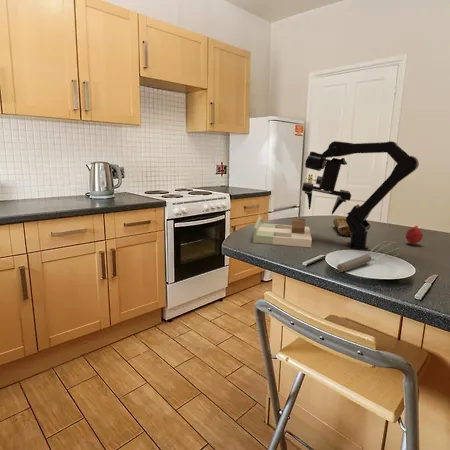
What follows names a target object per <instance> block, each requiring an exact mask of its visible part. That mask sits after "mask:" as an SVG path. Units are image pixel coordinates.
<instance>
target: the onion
mask: <svg viewBox="0 0 450 450" xmlns="http://www.w3.org/2000/svg"><path fill="white" fill-rule="evenodd" d="M418 227H419V225H414V226H413V227H411V228H409V229H408V230H407V231H406V233H405V239H406V240H407V242H408V243H409V244H410V245H412V246H414V245H416V244H418V243H419V242H421V241H422V239H423V236H424V235H423V232H422V230H421V229H419V228H418Z"/></svg>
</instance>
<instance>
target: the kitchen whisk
mask: <svg viewBox="0 0 450 450" xmlns="http://www.w3.org/2000/svg"><path fill="white" fill-rule="evenodd" d="M385 242H386V240H385V241H382V242H380V243H378V244H377V245H376V246H374V247H373V248H372V251H373V250H375V249H376V248H377V247H378V246H381V245H382V244H384V243H385ZM389 242H391V243H387V244H385V245H384V246H382V247H381V248H379V249H378V250H376V251H375V252H373V253H372V251H369V252H368V253H365V254H362V255H360V256H357V257H354V258H352V259H349V260H347V261H344V262H342V263H338V264H337V265H336V266H335V272H336V273H337V274H339V273H344V272H343V271H345V272H347V270H348V271H349V270H353V269H355V268H357V267H359V266H362V265H364V264H365V265H366V264H367V263H371V262H373V261H374V262H376V259H375V258H374V257H377V256H380V255H385V254H386V253H388V255H389V254H392V252H393V251H396V250H398V251H399V249H400V246H398V247H397V242H396V241H390V240H389ZM394 244H395V245H394ZM388 245H389V246H391V245H392V246H391V250H390V251H386V252H383V253H380V254H376V253H378V252H381V251H384V250H389V249H390V247H388V248H385V247H387V246H388ZM382 248H384V249H382ZM392 248H393V249H392ZM370 253H371V254H370ZM374 254H376V255H374ZM395 254H396V253H393V256H389V257H388V259H392V257H393V258H394V257H397V256H398V255H399V254H400V252H398V253H397V254H396V255H395ZM372 255H373V256H372ZM381 259H382V260H384V259H385V257H383V258H379V260H381Z"/></svg>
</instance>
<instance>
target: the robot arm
mask: <svg viewBox="0 0 450 450" xmlns="http://www.w3.org/2000/svg"><path fill="white" fill-rule="evenodd" d="M374 153H375V154H377V153H378V154H379V153H383V154H384V153H387V154H388V155H389V156H390V158H392V160H393V161H394V162H395V163H396V165H395V166H394V168H393V169H392V171H391V173H390V175H389V176H388V177H387V178H386V179H385V180H384V181H383V183H381V185H380V186H378V188H377V189H376V190H375V191H374V192H373V193H371V195H370V196H369V198H367V199H366V201H364V203H363V204H361V205H360V204H358V203H357V204H356V205H354V206H353V208H352V209H351V210H350V211H349V212H347V213H346V215H347V216H345V217H346V223H347V225H348V226H349V227H350V231H351V236H350V240H349V241H350V242H349V241H348V242H347V244H348V247H349V248H350V249H360V250H361V249H363V250H369V247H368V246H367V240H368V231H369V229H370V228H371V224H370V223H369V222H368V221H367V219H368V217H369V215H370V214H371V212H372V210H373V209H374V208H375V207H376V206H377V205H378V204H379V203H381V201H383V199H384V198H385V197H386V196H387V195H388V194H389V193H390V192H391V191H392V190H393V189H394V188H395V187H396V186H397V185H398V183H400V182H402V181H403V180H404V179H405V178H407V177H408V176H409V175H411V174H412V173H414V172H415V171H416V170H418V168H419V165H420V164H419V160H418V158H417V157H416V156H413V155H409V154H408V153H407V152H406V151H405V150H403V148H401V147H400V146H399V145H398V143H397V142H395V141H393V140H390V141H383V142H379V141H378V142H358V143H353V142H352V143H351V142H347V141H340V140H339V141H337V140H335V141H332V142H331V143H329V145H328V147H327V149H326V150H324V151H323V152H322V153H318V152H316V151H310V152H309V154H308V156H307V159H306V160H305V163H304V164H305V168H306V169H310V170H313V171H317V172H320V171H322V170H323V172H322V176H319V175H317V177H316V181H315V184H316V185H318V186H314V183H311V182H307V181H306V182H303V183H302V188H301V191H302V192H304V194H306V196H307V200H308V201H307V202H308V210H311V206H312V198H313V192H318V193H323V194H327V195H331V196H336V200H335V203H334V205H333V207H332V209H331V215H333V214H335V212H336V211H337V210H338V208H339V207H340V206H341V205H342V204H343V203H346V202H347V201H351V198H352V194H351V192H350V191H349V190H345V189H340V190H335V189H336V185H337V180H338V177H339V173H340V170H341V167H342V166H346V165H348V162H347V160H346V158H345V157H347V156H350V155H354V154H374ZM339 157H342V158H339ZM329 158H332V159H329Z"/></svg>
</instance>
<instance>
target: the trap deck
mask: <svg viewBox="0 0 450 450" xmlns="http://www.w3.org/2000/svg"><path fill="white" fill-rule="evenodd" d="M252 238H253V239H252V243H253V244H254V243H255V244H266V245H276V246H287V247H288V246H289V247H299V248H312V243H313V241H312V234H311V229H310V226H305V231H304V234H299V233H292V224H290V225H289V224H277V223H276V224H275V223H264V222H263V223H262V216H258V218H257V220H256V222H255V224H254V227H253V237H252Z"/></svg>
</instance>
